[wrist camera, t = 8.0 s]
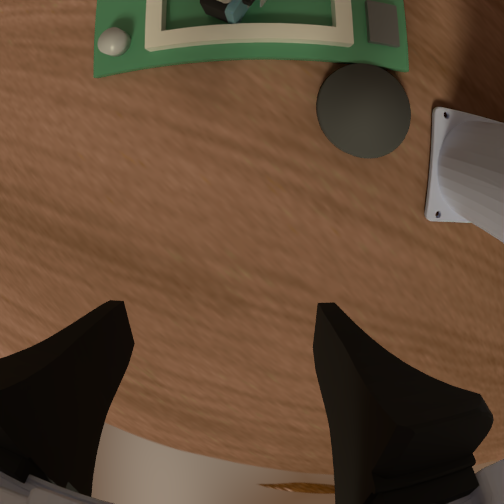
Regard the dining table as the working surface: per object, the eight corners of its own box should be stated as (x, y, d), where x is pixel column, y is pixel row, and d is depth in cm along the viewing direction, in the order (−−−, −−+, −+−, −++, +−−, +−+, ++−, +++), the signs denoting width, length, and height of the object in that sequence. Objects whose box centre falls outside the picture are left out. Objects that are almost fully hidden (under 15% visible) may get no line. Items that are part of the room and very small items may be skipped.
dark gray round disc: (402, 73, 17) (410, 71, 16) (400, 159, 19) (408, 162, 18) (314, 61, 17) (318, 58, 16) (314, 153, 19) (318, 155, 18)
